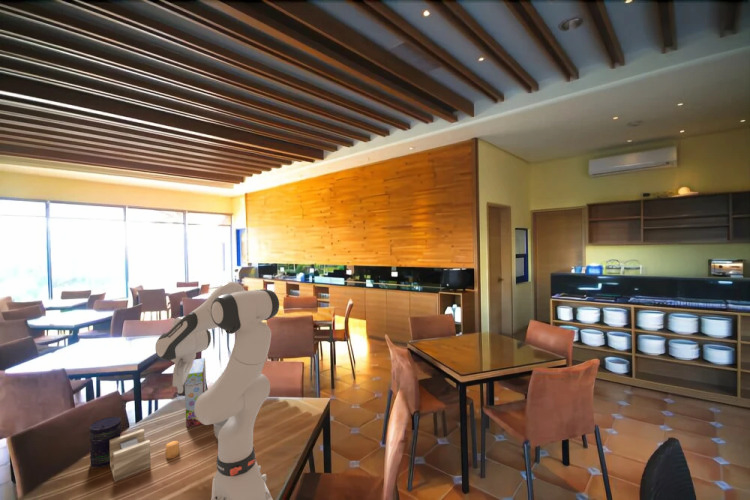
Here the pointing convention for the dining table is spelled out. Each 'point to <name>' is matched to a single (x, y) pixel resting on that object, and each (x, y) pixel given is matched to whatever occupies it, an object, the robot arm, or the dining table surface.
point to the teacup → (219, 427)
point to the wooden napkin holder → (129, 454)
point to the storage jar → (103, 440)
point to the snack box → (194, 390)
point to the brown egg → (172, 449)
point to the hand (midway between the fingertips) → (183, 387)
